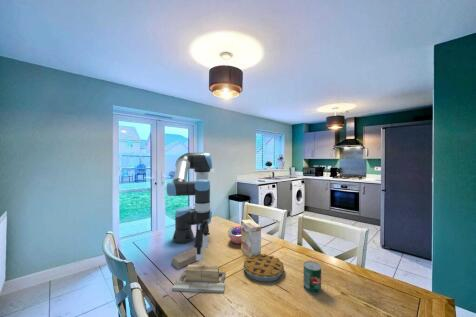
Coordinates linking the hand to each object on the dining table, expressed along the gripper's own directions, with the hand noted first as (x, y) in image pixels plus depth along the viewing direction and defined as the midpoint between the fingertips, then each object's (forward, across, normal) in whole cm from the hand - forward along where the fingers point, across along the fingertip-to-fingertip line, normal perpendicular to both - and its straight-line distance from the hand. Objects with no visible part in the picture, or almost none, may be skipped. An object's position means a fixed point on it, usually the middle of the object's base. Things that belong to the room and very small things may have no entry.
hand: (202, 253), depth 101 cm
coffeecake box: (+13, -29, +24) cm, 40 cm away
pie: (+14, -10, +31) cm, 35 cm away
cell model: (+14, -46, +16) cm, 50 cm away
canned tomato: (+13, +3, +53) cm, 55 cm away
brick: (+14, -17, -13) cm, 25 cm away
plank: (+13, 0, 0) cm, 13 cm away
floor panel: (+13, +1, 0) cm, 13 cm away
